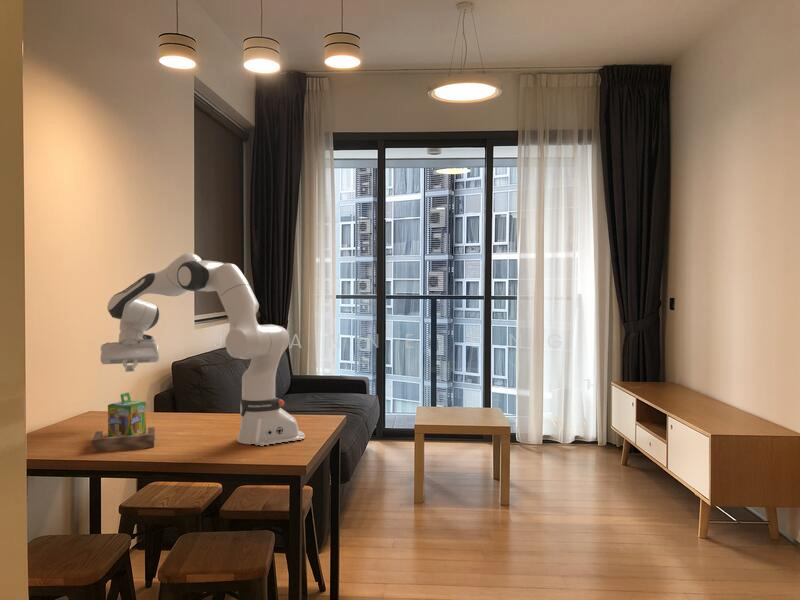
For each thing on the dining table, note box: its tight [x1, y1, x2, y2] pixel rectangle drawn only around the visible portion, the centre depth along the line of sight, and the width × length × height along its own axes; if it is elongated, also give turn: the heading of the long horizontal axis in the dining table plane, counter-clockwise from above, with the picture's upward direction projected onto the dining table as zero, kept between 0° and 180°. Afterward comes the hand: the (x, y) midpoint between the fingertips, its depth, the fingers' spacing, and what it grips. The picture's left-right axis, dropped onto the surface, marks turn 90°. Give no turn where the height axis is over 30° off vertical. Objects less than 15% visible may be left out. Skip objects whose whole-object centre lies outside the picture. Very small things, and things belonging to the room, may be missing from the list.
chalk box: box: [107, 392, 147, 437], centre depth 208 cm, size 9×9×15 cm
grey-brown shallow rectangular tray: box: [91, 426, 156, 453], centre depth 194 cm, size 18×12×4 cm, turn 111°
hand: (129, 370), depth 221 cm, fingers closed
